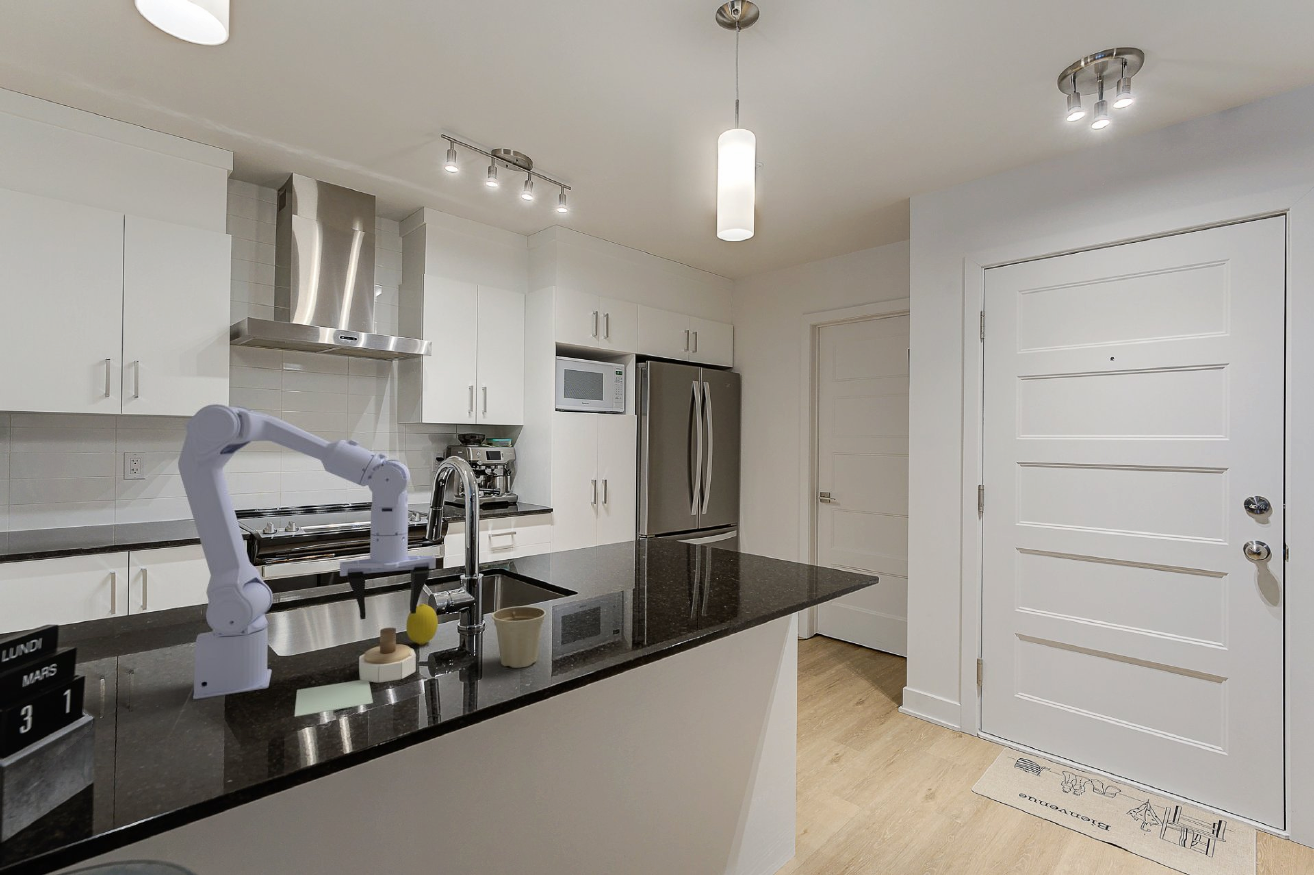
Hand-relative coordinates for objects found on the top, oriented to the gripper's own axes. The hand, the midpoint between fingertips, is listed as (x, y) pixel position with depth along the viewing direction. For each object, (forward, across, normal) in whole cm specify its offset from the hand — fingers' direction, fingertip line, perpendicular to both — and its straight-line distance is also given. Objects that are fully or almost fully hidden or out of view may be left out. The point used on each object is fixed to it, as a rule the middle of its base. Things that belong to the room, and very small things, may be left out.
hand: (388, 614), depth 104 cm
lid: (+7, 0, 0) cm, 7 cm away
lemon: (+10, +7, +12) cm, 17 cm away
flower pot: (+10, +21, -4) cm, 24 cm away
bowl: (+10, 0, 0) cm, 10 cm away
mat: (+10, -8, -7) cm, 15 cm away
